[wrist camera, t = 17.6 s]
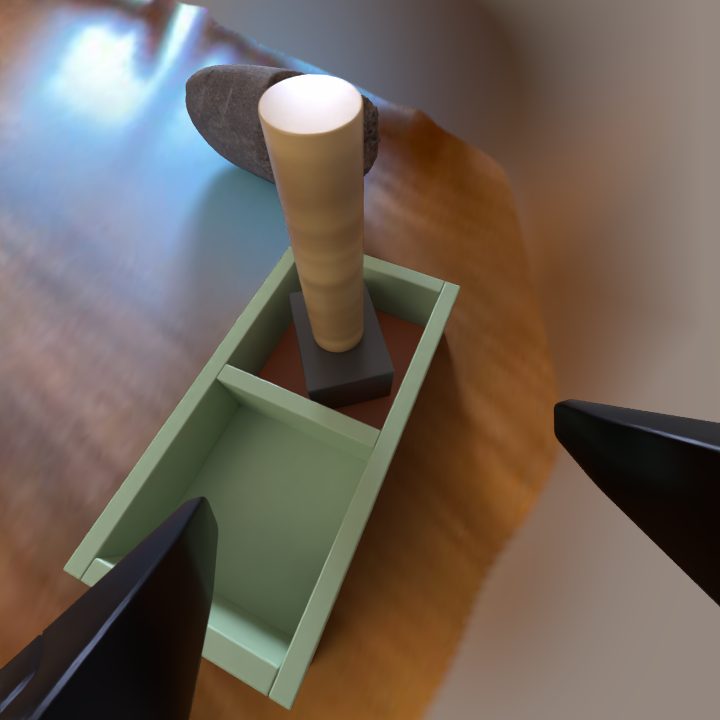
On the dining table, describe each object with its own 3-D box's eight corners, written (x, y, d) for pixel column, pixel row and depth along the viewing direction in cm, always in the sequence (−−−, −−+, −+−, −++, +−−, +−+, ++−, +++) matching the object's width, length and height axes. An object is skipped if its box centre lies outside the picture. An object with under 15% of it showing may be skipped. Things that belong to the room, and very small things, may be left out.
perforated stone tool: (184, 161, 29) (134, 55, 22) (227, 125, 31) (193, 20, 24) (346, 231, 25) (340, 129, 19) (383, 186, 27) (388, 80, 21)
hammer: (390, 395, 19) (434, 164, 7) (315, 414, 18) (232, 200, 7) (364, 310, 21) (365, 32, 10) (297, 324, 21) (213, 53, 9)
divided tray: (444, 329, 22) (461, 286, 18) (308, 668, 15) (290, 712, 11) (309, 280, 23) (298, 231, 20) (129, 562, 16) (61, 570, 13)
